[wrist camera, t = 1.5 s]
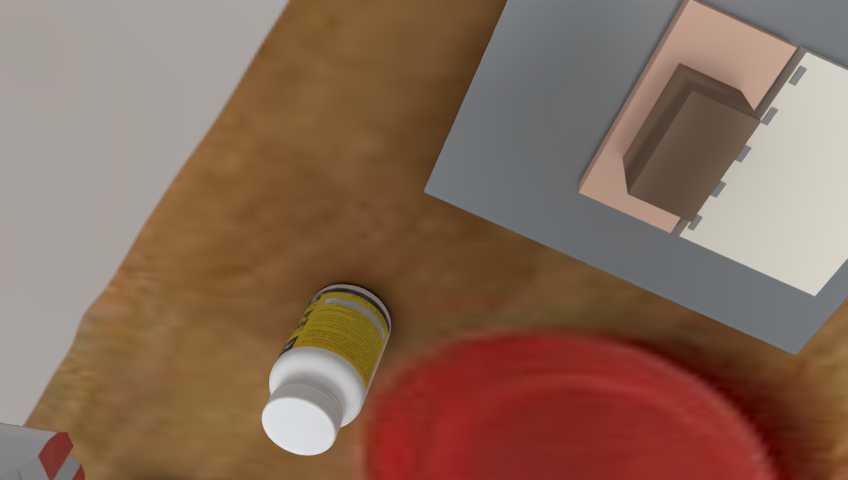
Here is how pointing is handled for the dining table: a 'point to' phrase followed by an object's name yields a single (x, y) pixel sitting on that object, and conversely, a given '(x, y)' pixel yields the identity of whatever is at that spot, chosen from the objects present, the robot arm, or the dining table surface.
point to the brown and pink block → (686, 116)
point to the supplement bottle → (326, 369)
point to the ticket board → (730, 200)
